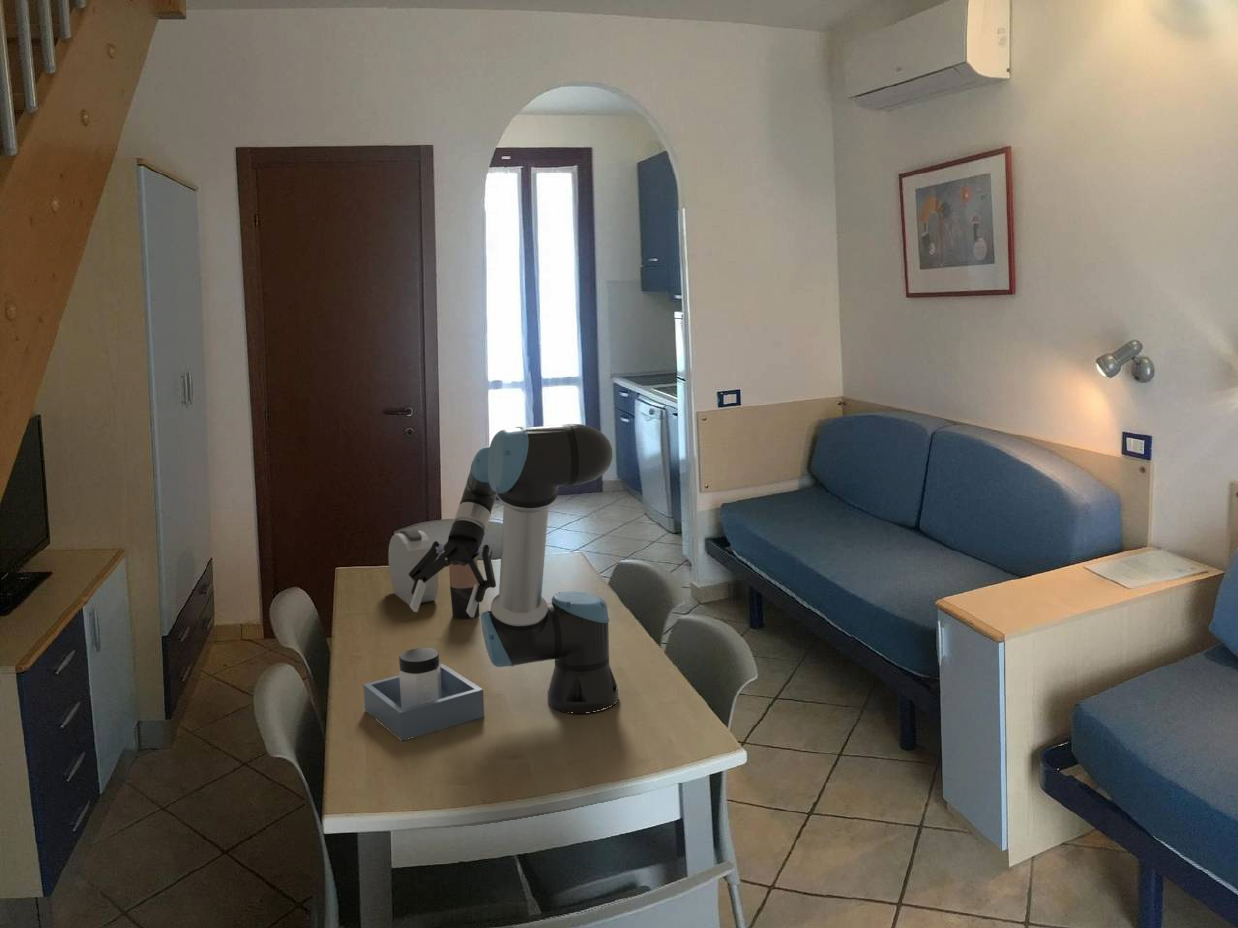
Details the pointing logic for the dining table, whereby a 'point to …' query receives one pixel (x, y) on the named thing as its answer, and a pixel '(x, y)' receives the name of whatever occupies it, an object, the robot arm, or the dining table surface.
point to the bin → (424, 705)
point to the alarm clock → (409, 564)
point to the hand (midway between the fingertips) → (441, 611)
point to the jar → (419, 677)
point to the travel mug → (462, 589)
